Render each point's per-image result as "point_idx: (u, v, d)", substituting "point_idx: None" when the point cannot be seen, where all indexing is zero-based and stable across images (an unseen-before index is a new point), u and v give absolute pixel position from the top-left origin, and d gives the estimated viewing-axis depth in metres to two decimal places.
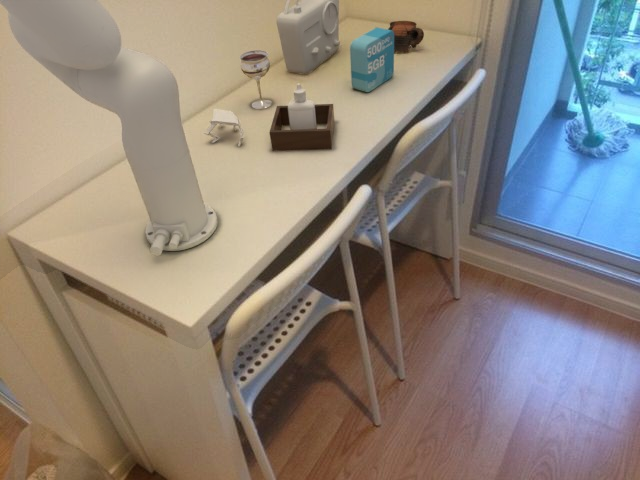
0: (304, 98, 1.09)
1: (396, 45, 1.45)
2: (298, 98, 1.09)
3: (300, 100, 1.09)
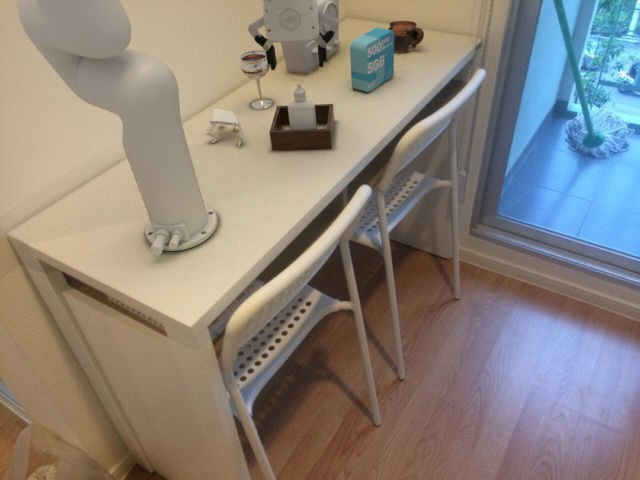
0: (304, 98, 1.09)
1: (396, 45, 1.45)
2: (298, 98, 1.09)
3: (300, 100, 1.09)
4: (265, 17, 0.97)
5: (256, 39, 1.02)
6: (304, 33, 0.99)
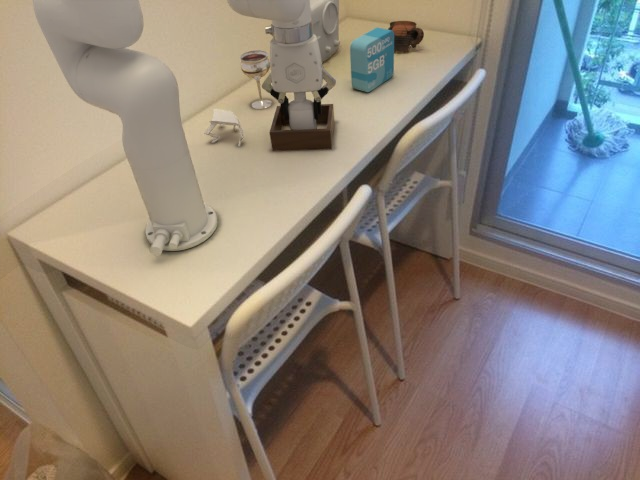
0: (304, 98, 1.09)
1: (396, 45, 1.45)
2: (298, 98, 1.09)
3: (300, 100, 1.09)
4: (272, 70, 1.04)
5: (271, 93, 1.09)
6: (308, 85, 1.05)
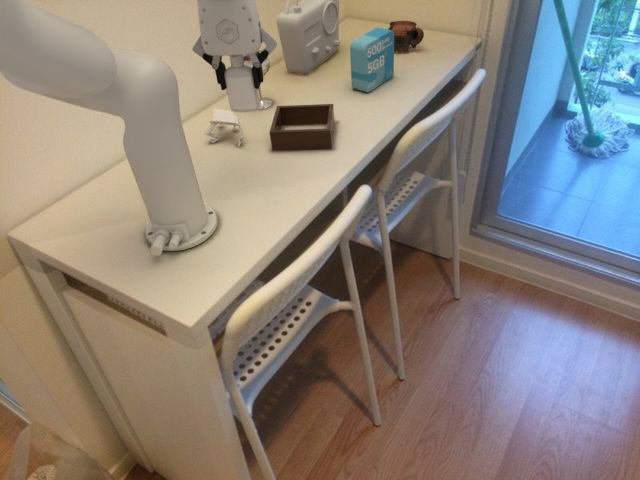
0: (242, 63, 0.96)
1: (396, 45, 1.45)
2: (234, 63, 0.95)
3: (237, 65, 0.95)
4: (201, 28, 0.90)
5: (204, 57, 0.95)
6: (244, 46, 0.91)
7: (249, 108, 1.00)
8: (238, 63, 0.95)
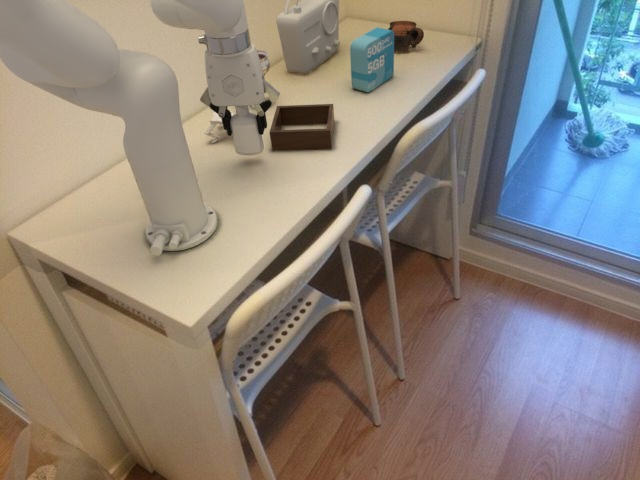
0: (247, 111, 1.01)
1: (396, 45, 1.45)
2: (239, 112, 1.01)
3: (242, 114, 1.01)
4: (208, 83, 0.96)
5: (211, 106, 1.01)
6: (248, 98, 0.97)
7: (254, 152, 1.06)
8: (243, 112, 1.01)
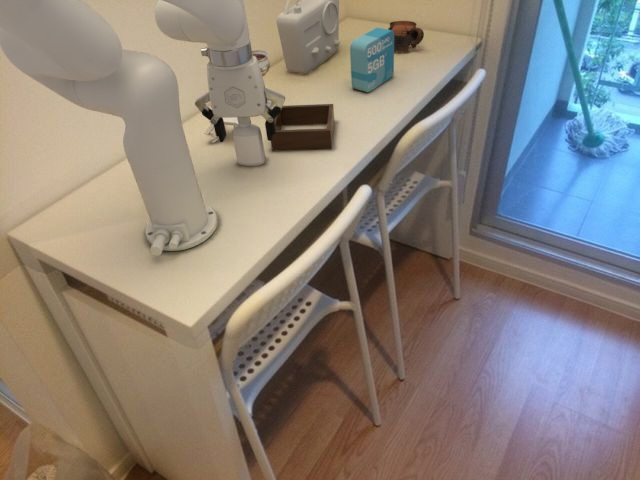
0: (249, 123, 1.03)
1: (396, 45, 1.45)
2: (242, 123, 1.03)
3: (244, 125, 1.03)
4: (210, 94, 0.97)
5: (203, 113, 1.02)
6: (250, 110, 0.98)
7: (255, 163, 1.08)
8: (245, 123, 1.03)
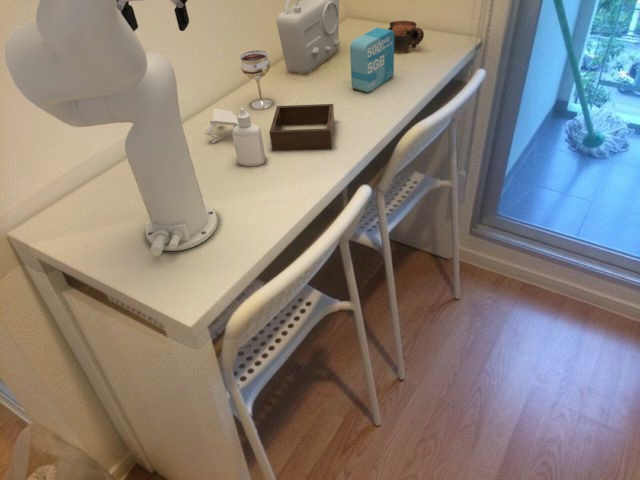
0: (249, 123, 1.03)
1: (396, 45, 1.45)
2: (242, 123, 1.03)
3: (244, 125, 1.03)
4: None
5: None
6: None
7: (255, 163, 1.08)
8: (245, 123, 1.03)
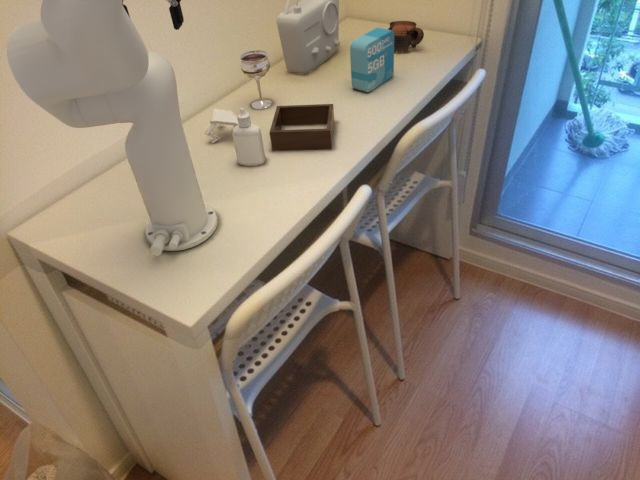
0: (249, 123, 1.03)
1: (396, 45, 1.45)
2: (242, 123, 1.03)
3: (244, 125, 1.03)
4: None
5: None
6: None
7: (255, 163, 1.08)
8: (245, 123, 1.03)
